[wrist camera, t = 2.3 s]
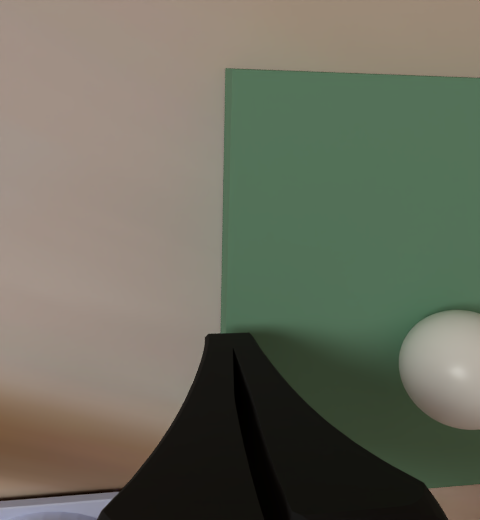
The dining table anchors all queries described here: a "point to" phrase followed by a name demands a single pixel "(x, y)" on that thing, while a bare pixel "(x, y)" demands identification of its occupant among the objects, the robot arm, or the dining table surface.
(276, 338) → the putting deck
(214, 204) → the dining table surface
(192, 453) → the robot arm
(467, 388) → the ball
